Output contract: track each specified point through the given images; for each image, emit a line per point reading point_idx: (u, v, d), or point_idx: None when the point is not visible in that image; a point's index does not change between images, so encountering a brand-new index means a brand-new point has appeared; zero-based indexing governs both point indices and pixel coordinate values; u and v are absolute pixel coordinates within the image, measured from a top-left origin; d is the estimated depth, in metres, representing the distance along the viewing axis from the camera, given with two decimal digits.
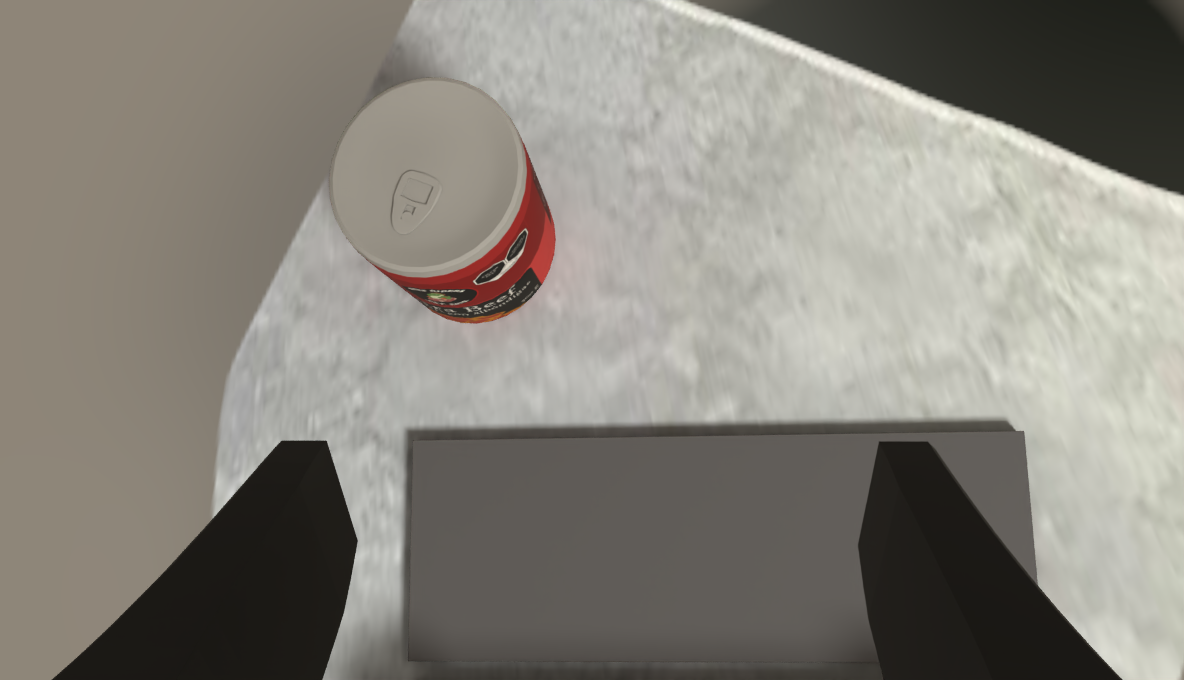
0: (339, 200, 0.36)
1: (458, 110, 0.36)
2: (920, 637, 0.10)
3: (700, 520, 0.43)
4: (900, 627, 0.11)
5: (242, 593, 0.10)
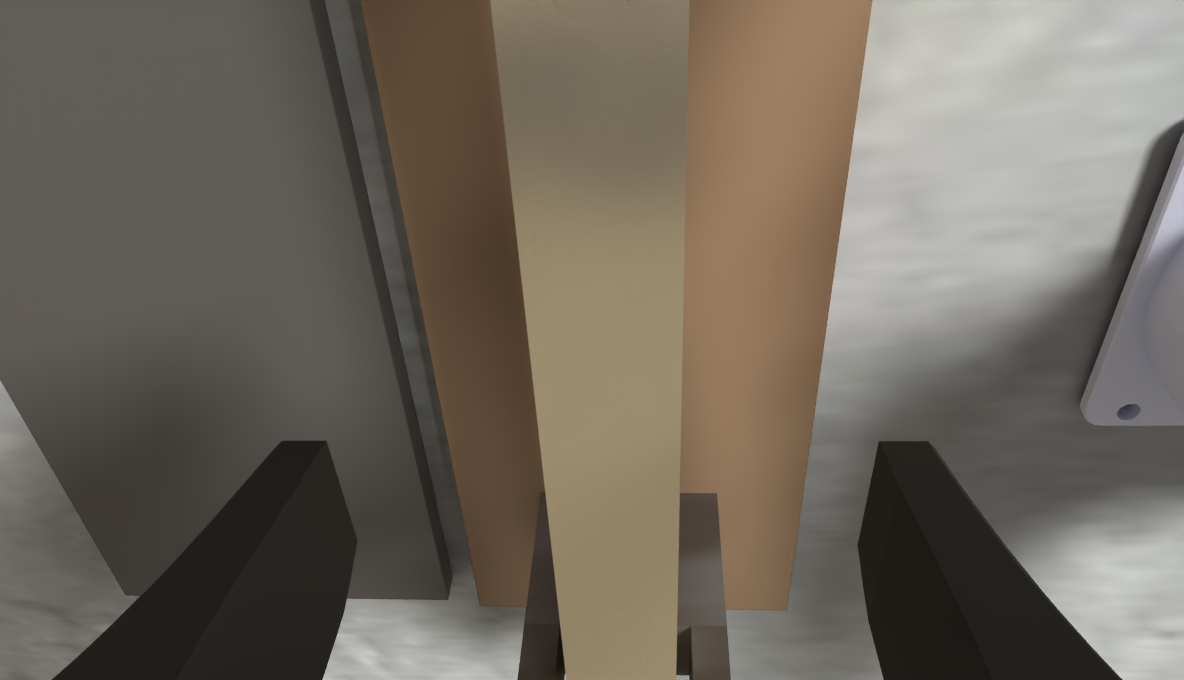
0: None
1: None
2: (920, 637, 0.10)
3: (76, 216, 0.20)
4: (900, 627, 0.11)
5: (242, 593, 0.10)
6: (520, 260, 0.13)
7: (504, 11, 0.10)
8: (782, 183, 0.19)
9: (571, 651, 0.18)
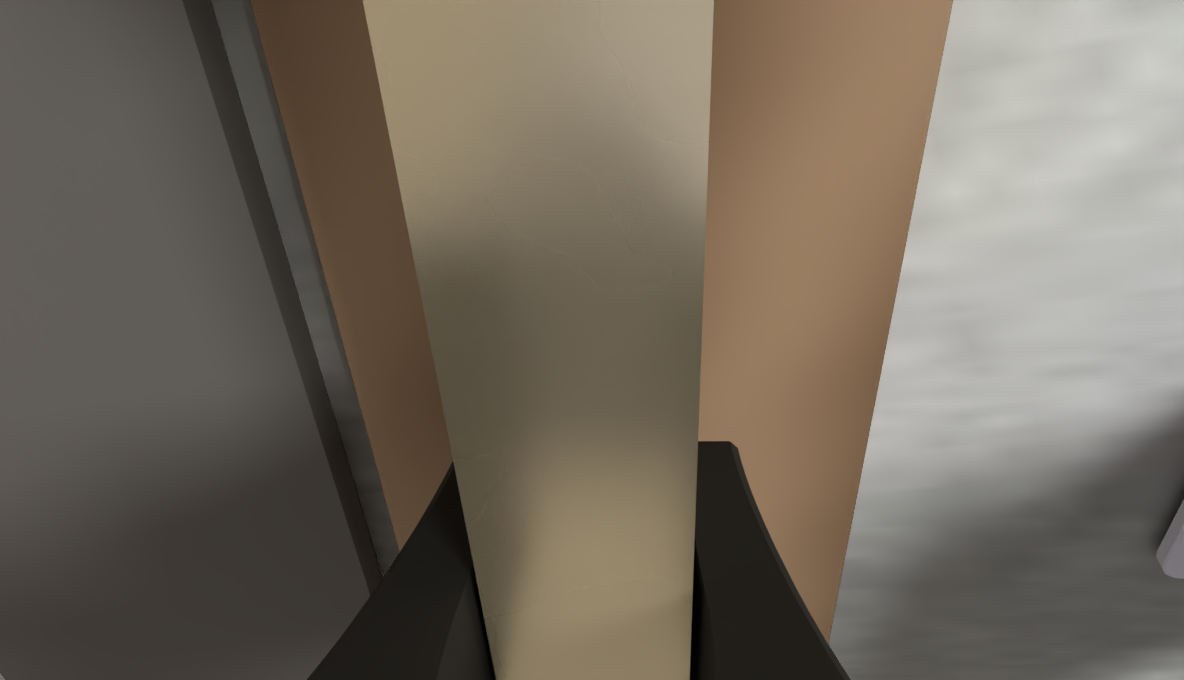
0: None
1: None
2: (697, 634, 0.10)
3: None
4: None
5: (468, 596, 0.10)
6: (467, 522, 0.09)
7: (426, 227, 0.07)
8: (811, 322, 0.15)
9: None
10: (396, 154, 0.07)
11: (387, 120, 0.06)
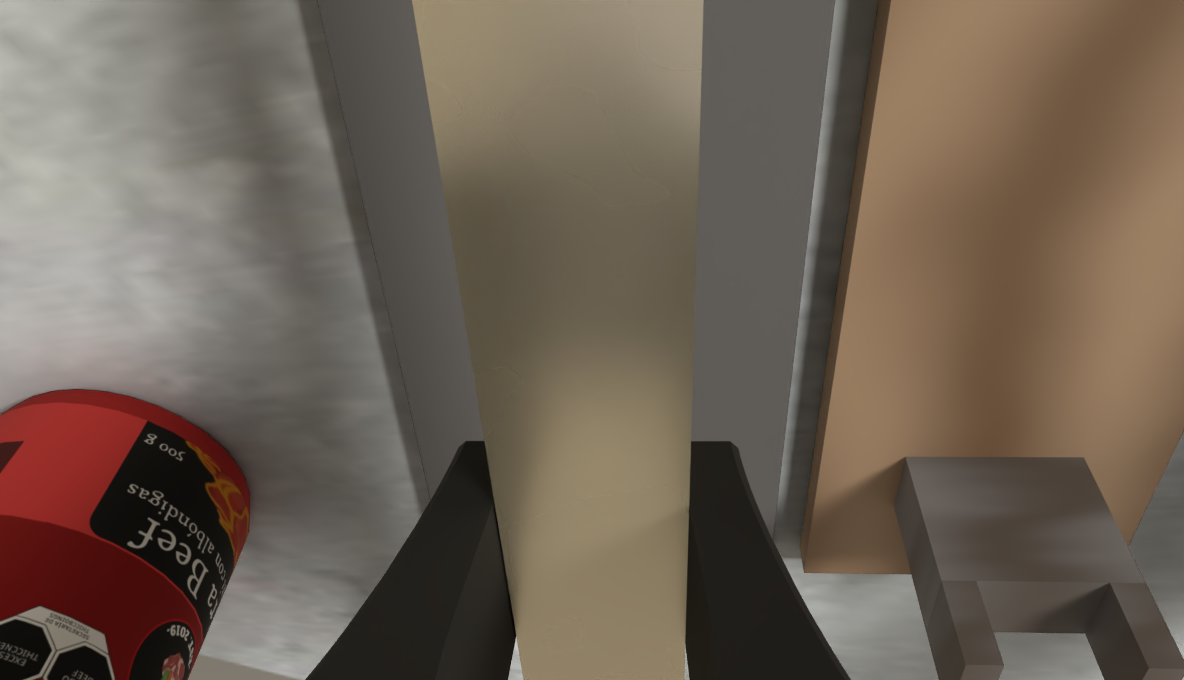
0: None
1: None
2: (698, 634, 0.10)
3: None
4: (692, 624, 0.11)
5: (467, 596, 0.10)
6: (484, 433, 0.10)
7: (453, 150, 0.08)
8: None
9: None
10: (427, 83, 0.08)
11: (422, 52, 0.07)
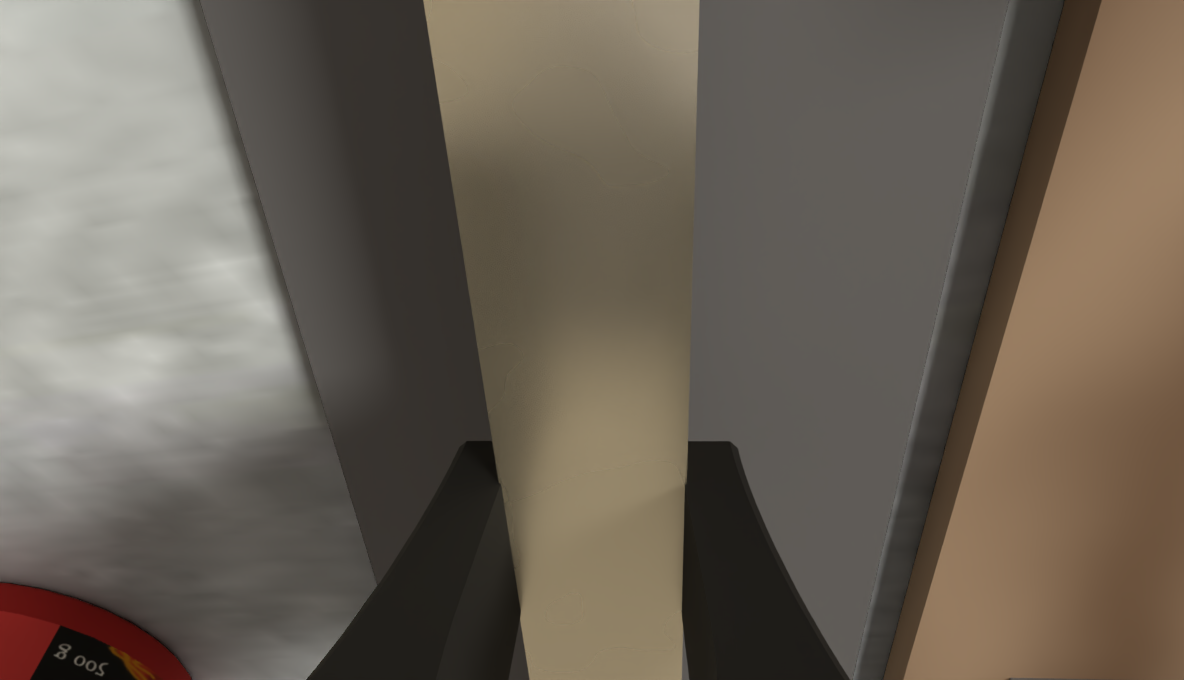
0: None
1: None
2: (697, 634, 0.10)
3: None
4: (691, 624, 0.11)
5: (468, 596, 0.10)
6: (488, 408, 0.10)
7: (459, 129, 0.08)
8: None
9: None
10: (435, 64, 0.08)
11: (429, 34, 0.08)
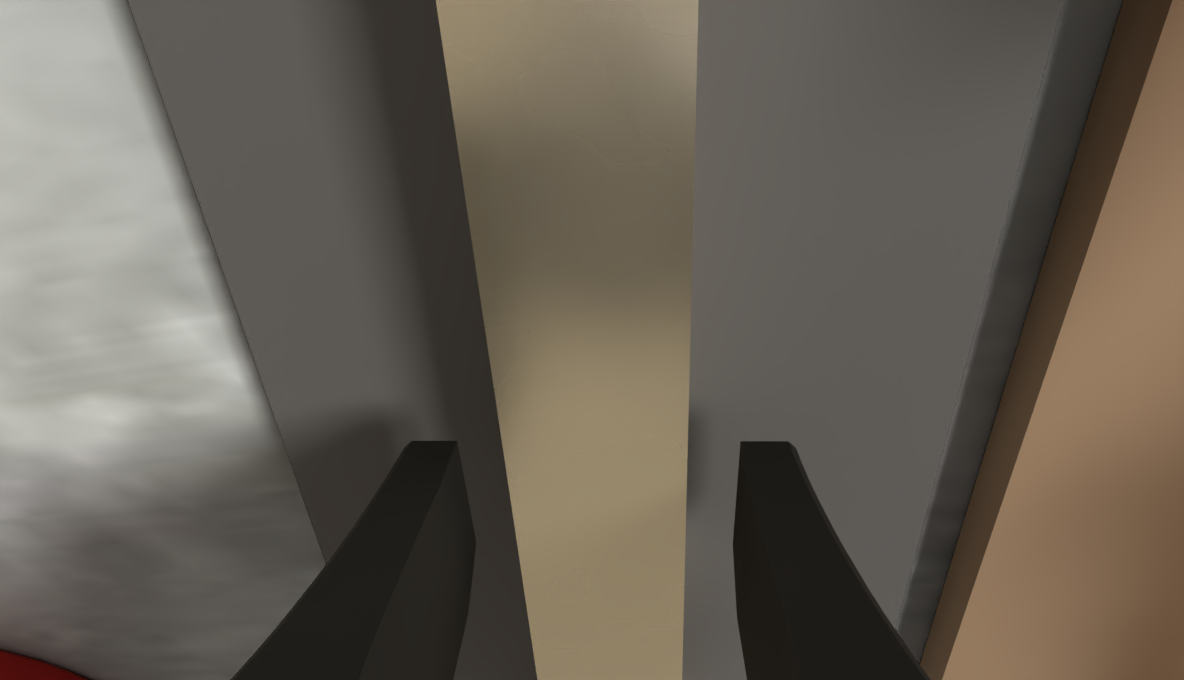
0: None
1: None
2: (763, 635, 0.10)
3: None
4: (753, 625, 0.11)
5: (401, 595, 0.10)
6: (495, 386, 0.11)
7: (468, 111, 0.09)
8: None
9: None
10: (444, 48, 0.08)
11: (439, 18, 0.08)
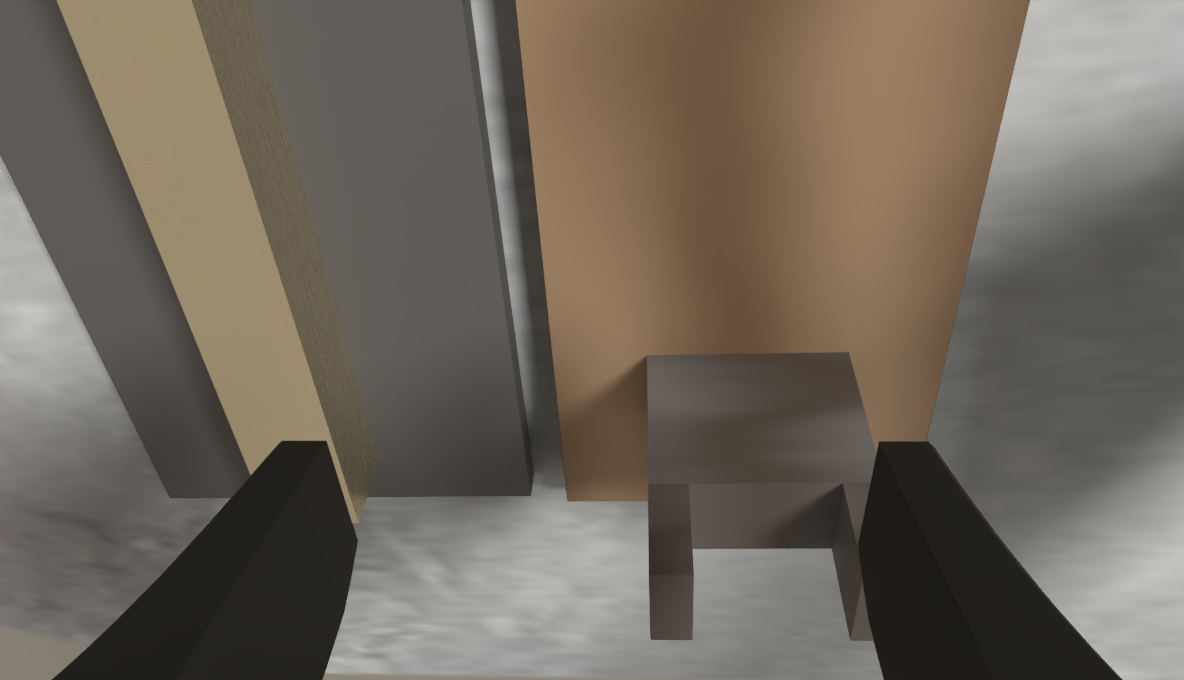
0: None
1: None
2: (920, 637, 0.10)
3: None
4: (900, 627, 0.11)
5: (242, 593, 0.10)
6: None
7: None
8: None
9: (202, 338, 0.19)
10: None
11: None
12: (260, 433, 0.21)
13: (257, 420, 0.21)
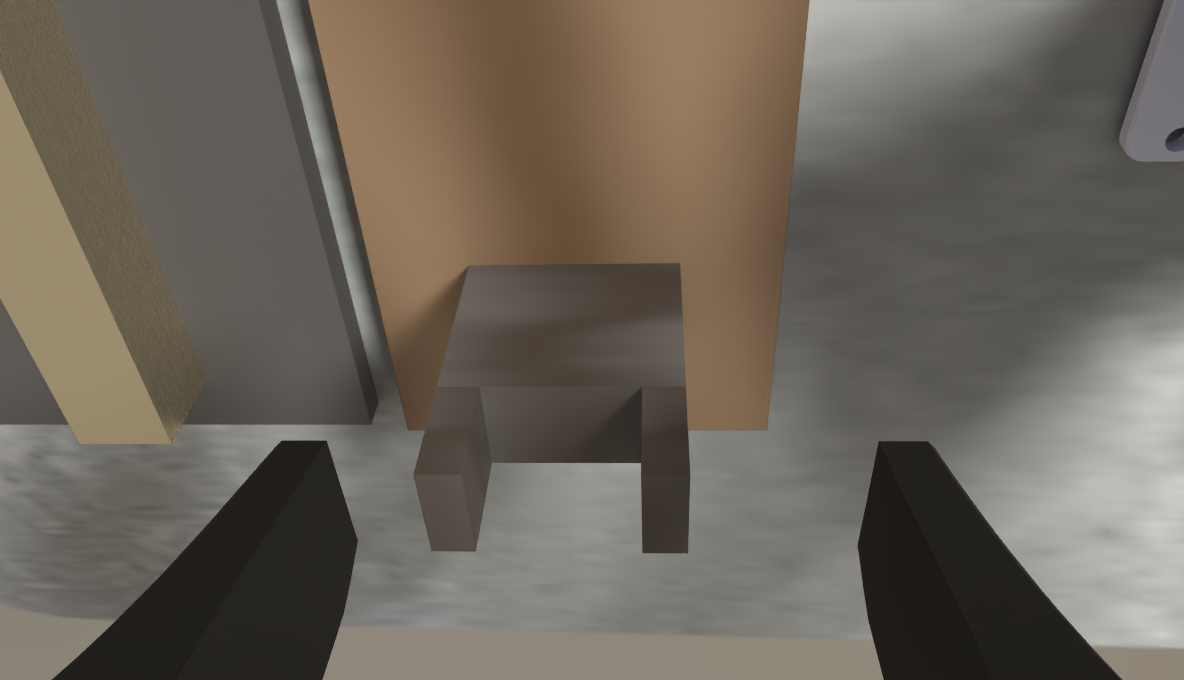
0: None
1: None
2: (920, 637, 0.10)
3: None
4: (900, 627, 0.11)
5: (242, 593, 0.10)
6: None
7: None
8: None
9: None
10: None
11: None
12: (51, 339, 0.20)
13: (45, 325, 0.20)
